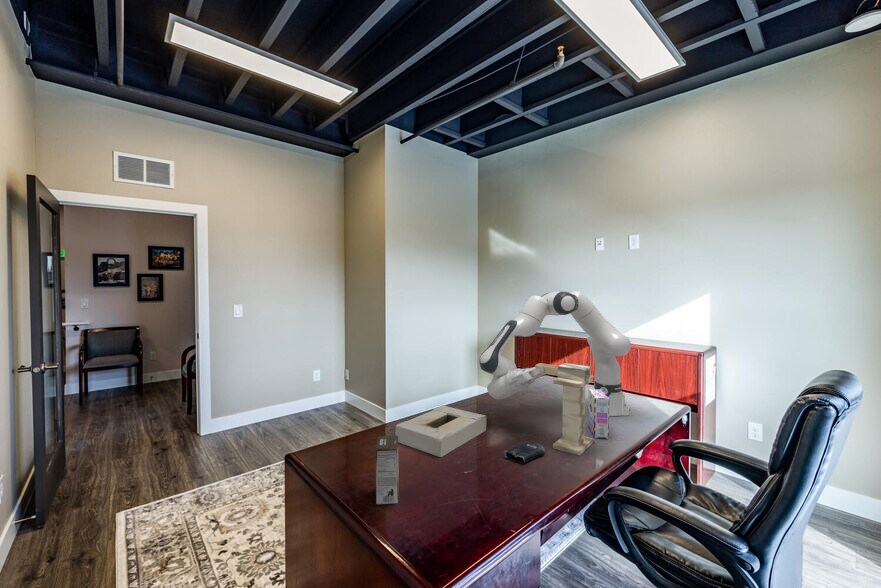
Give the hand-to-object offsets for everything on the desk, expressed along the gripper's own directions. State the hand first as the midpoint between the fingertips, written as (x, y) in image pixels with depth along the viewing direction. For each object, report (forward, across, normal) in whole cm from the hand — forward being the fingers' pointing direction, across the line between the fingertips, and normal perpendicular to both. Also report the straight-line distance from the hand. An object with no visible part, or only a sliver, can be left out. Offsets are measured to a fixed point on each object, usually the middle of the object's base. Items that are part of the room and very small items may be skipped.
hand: (546, 367), depth 154 cm
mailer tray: (+3, 0, +4) cm, 5 cm away
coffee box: (-30, -69, +16) cm, 77 cm away
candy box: (-2, +19, +32) cm, 37 cm away
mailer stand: (-4, 0, +30) cm, 31 cm away
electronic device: (-14, -19, +26) cm, 35 cm away
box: (-44, -25, +9) cm, 51 cm away
